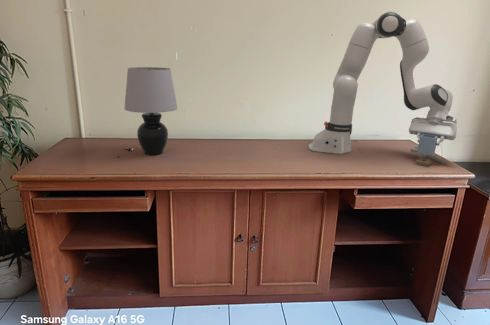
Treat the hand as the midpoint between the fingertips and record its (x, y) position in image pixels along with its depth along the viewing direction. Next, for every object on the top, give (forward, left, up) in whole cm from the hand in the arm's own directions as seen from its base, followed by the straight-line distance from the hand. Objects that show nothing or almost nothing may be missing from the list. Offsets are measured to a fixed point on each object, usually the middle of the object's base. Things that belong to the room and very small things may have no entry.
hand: (428, 143), depth 167 cm
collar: (0, -1, -4) cm, 4 cm away
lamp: (-130, -12, -10) cm, 131 cm away
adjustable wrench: (+6, +15, -11) cm, 19 cm away
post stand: (-1, -1, -10) cm, 10 cm away
